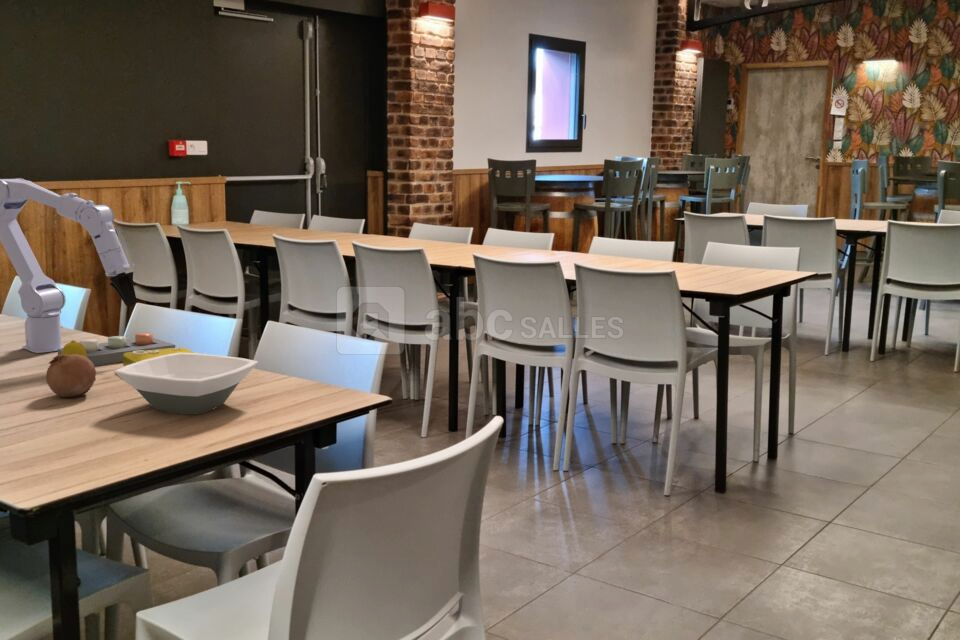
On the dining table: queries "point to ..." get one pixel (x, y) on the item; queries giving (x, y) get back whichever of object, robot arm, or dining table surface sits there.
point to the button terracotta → (143, 339)
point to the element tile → (150, 354)
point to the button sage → (116, 342)
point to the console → (121, 351)
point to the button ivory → (90, 345)
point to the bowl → (186, 380)
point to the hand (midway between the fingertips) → (131, 303)
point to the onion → (70, 375)
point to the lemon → (74, 349)
